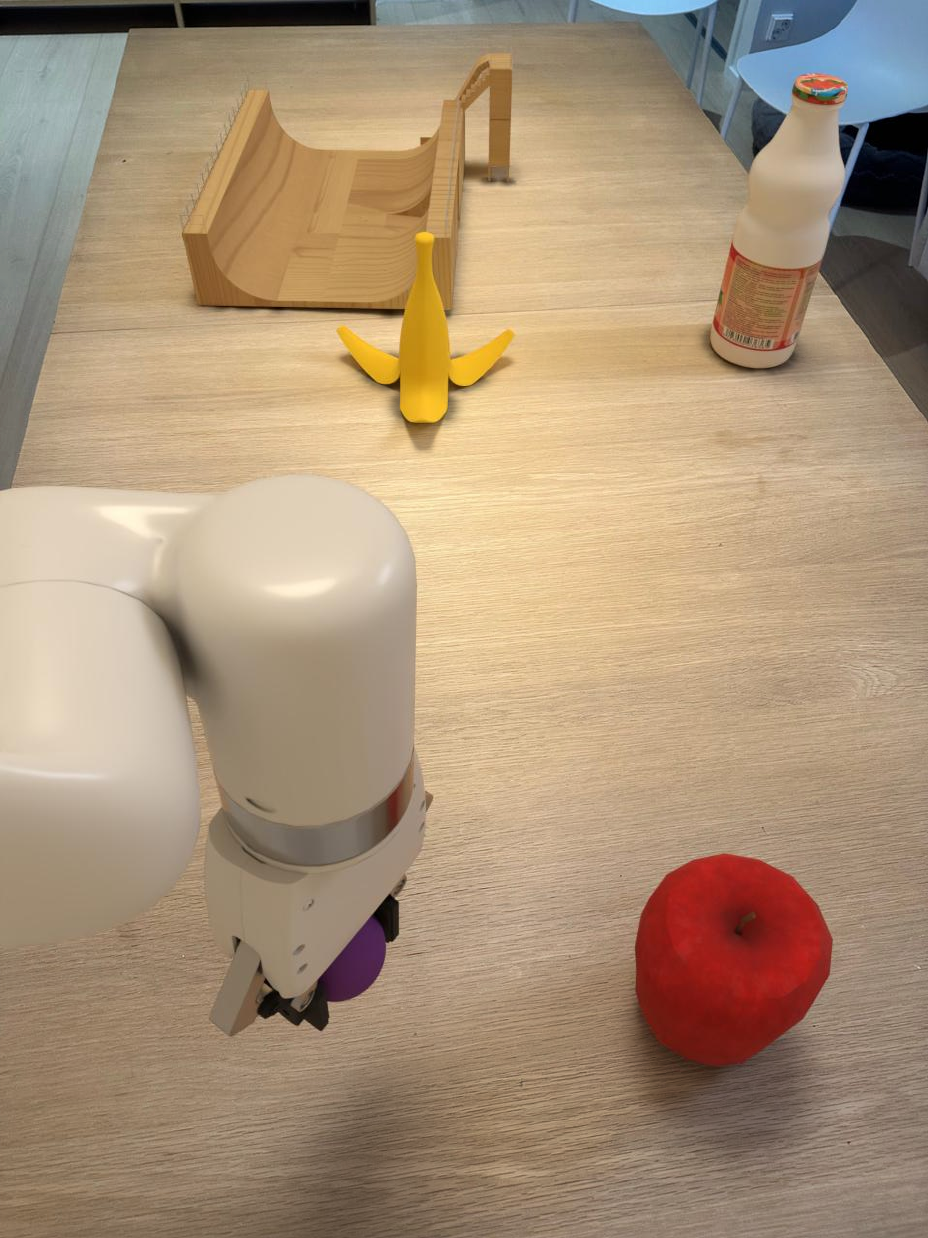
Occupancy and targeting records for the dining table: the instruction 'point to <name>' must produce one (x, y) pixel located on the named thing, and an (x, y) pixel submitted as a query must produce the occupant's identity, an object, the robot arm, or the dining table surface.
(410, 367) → the banana peel
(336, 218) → the skate ramp
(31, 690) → the robot arm
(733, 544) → the dining table surface
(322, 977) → the ball
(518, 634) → the dining table surface
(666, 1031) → the apple
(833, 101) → the milk bottle
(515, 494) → the dining table surface
